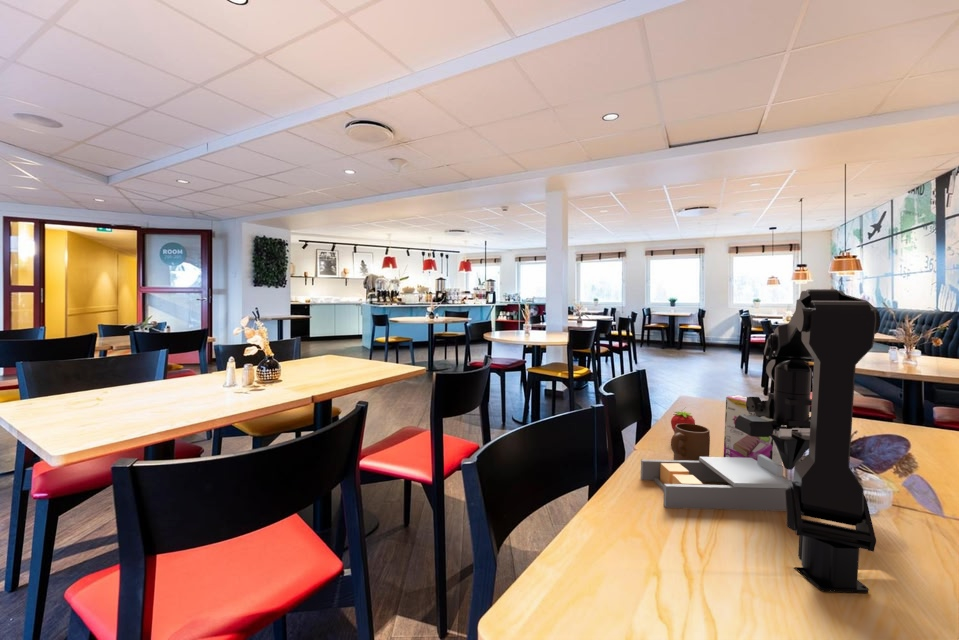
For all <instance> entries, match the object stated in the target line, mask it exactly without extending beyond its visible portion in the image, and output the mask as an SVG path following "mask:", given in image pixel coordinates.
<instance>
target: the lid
mask: <svg viewBox="0 0 959 640" xmlns="http://www.w3.org/2000/svg"><path fill="white" fill-rule="evenodd" d="M699 461H701V462H702V463H703V464H705V465H706V466H707V467H709V468H710V469H711V470H713V471H714V472H715V473H716V474H718V475H719V476H720V477H722V478H723V479H724V480H726V481H727V482H726V483H728V485H732V486H733V487H745V488H788V486H789V483H790V481H791V480H789V479H788V478H786V477H785V476H784V465H783V466H782V465H780V464H778V463H777V462H775V461H773V460H771V459H769V458H768V457H766V456H764V455H758V459H757V461H756V460H755V459H753V458H741V457H724V456H709V457H699Z"/></svg>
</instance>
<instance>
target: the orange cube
mask: <svg viewBox="0 0 959 640" xmlns="http://www.w3.org/2000/svg"><path fill="white" fill-rule="evenodd" d="M673 474H675V475H689V471H688V470H687V469H686V468H684V467H683V466H682V465H681V464H679V463H661V468H660V481H661V482H662V483H663V484H672V475H673Z"/></svg>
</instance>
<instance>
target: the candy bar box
mask: <svg viewBox="0 0 959 640" xmlns="http://www.w3.org/2000/svg"><path fill="white" fill-rule="evenodd" d="M747 397H748V396H744V395H739V394H736V395H727V396H726V397H725V415H724V416H725V417H724V434H723V435H724V439H723V457H741V458H753V459H755V460H756V461H757V459H758V455H764V456H766V457H768V458H769V459H771V460H773V461H775V462H777V463H778V464H780V465H782V459H781V457H780V454H779V451H778V449H777V446H776V444H775V442H774V440H773V439H772V438H771V436H769V437H754V436H750V435H748V434H746V433H744V432H742V431H740V430H738V429H736V428H735V419H736V418H737V417H738V416H739V415H755V412H748V411H747V408H746V401H747ZM760 400H761V401H764V400H762V399H760ZM760 418H763V419H765V420H767V421H773V419H768V418H766V417H765V416H762V417H760ZM781 426H782V425H781Z"/></svg>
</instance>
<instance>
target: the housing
mask: <svg viewBox="0 0 959 640" xmlns="http://www.w3.org/2000/svg"><path fill="white" fill-rule="evenodd" d="M661 463H679V464H681V465H682V466H683V467H684V468H686V469H687V470H688V471H689V475H693V476H695V477H696V478H697V479H698V480H699V481H700V482H702V483H704V482H706V483H707V482H710V483H714V482H715V483H728V482H727V481H726V480H724V479H723V478H722V477H720V476H719V475H718V474H716V473H715V472H714V471H713V470H711V469H710V468H709V467H707V466H706V465H705V464H703V463H702V462H701V461H690V460H674V459H640V479H641V480H642V481H654V482H655V483H656V484H657V486H659V488H660V490H662V491H663V502H662V503H663V504H662V505H663V507H664V508H666V509H698V510H699V509H700V510H731V511H732V510H739V511H741V510H742V511H779V512H780V511H781V512H783V511H784V512H787V509H786V498H785V490H786V489H787V488H745V487H733V486H732V485H731V484H727V485H726V484H703V485H694V484H663V483H662V482H661V481H660V468H661Z"/></svg>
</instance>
